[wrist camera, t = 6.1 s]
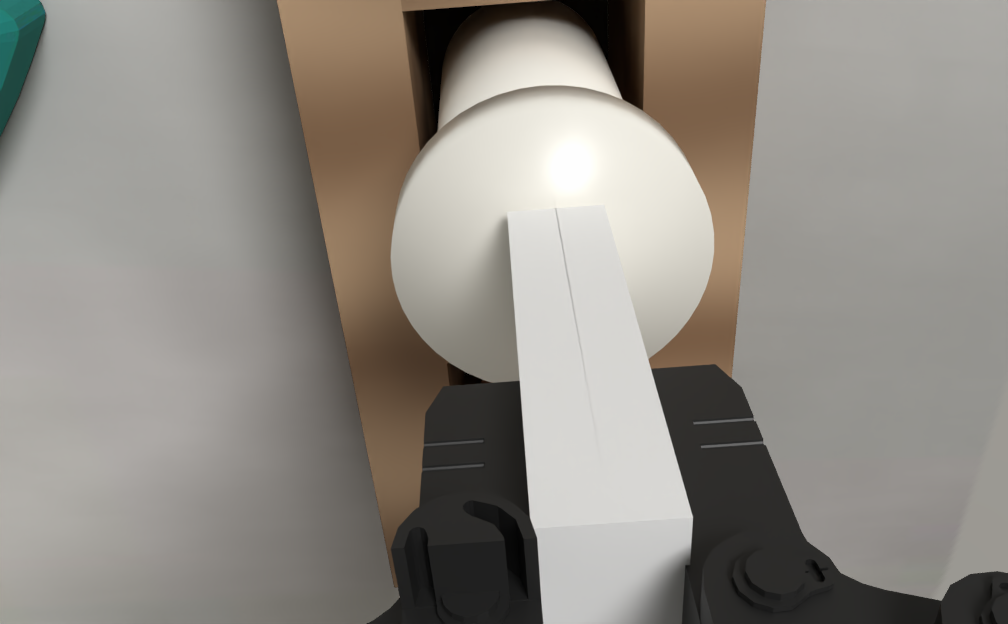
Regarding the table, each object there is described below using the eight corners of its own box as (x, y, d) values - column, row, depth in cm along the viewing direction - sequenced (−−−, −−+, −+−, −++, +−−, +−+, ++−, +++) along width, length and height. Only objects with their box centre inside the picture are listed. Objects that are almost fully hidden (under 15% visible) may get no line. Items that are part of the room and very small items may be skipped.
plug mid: (404, -24, 21) (367, 122, 13) (630, -41, 21) (725, 94, 13) (429, 183, 23) (412, 400, 16) (628, 168, 23) (704, 379, 16)
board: (200, -753, 17) (84, -959, 12) (740, -799, 17) (859, -1026, 12) (405, 456, 33) (394, 587, 28) (676, 436, 33) (714, 564, 28)
